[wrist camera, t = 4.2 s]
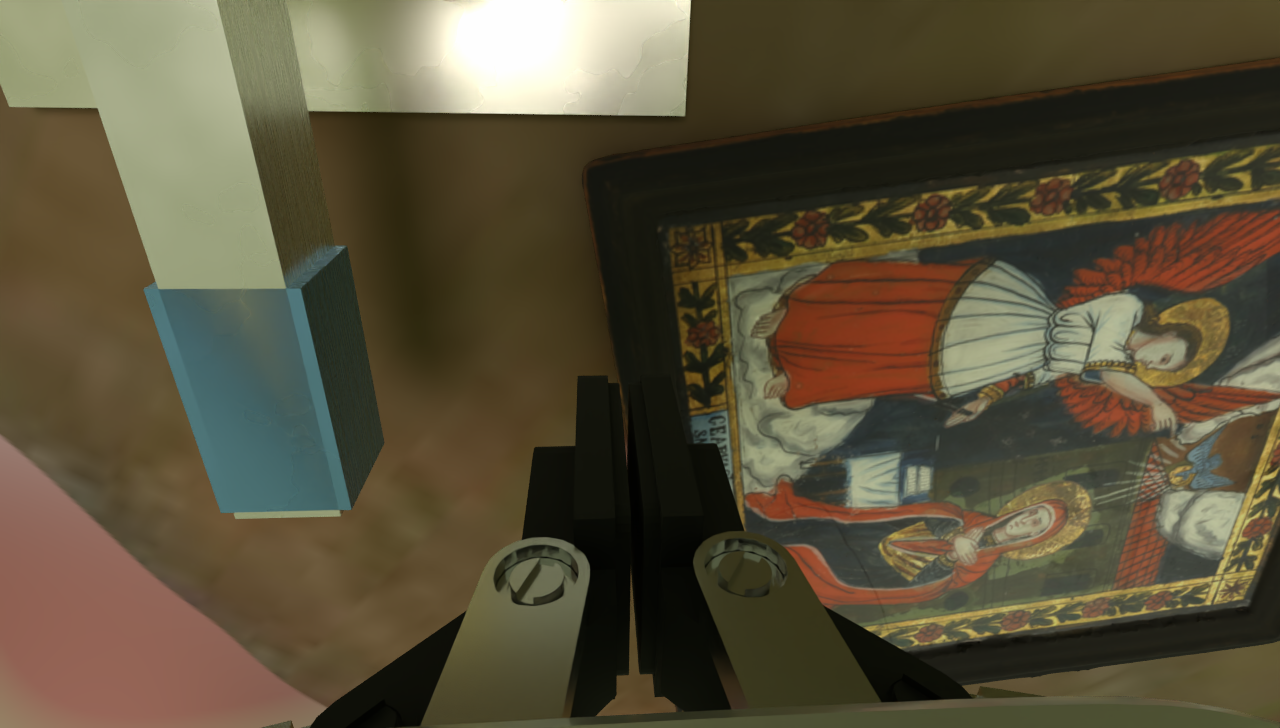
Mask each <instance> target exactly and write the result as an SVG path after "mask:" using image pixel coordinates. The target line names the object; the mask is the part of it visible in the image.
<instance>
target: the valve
mask: <svg viewBox="0 0 1280 728" xmlns="http://www.w3.org/2000/svg"><path fill="white" fill-rule="evenodd" d="M286 2H287V7H288V12H289V17H290V22H291V27H292V32H293V37H294V42H295V47H296V53H297V58H298V63H299V68H300V73H301V78H302V83H303V88H304V93H305V98H306V103H307V108H308V111H350V112H423V113H496V114H568V115H641V116H685V107H686V86H687V66H688V45H689V25H690V5H691V0H286ZM0 84H1V87H2V89H3V92H4V94H5V97H6V99H7V102H8V104H9V107H60V108H97V105H96V102H95V99H94V96H93V93H92V90H91V87H90V84H89V81H88V78H87V75H86V72H85V69H84V66H83V63H82V60H81V57H80V54H79V51H78V48H77V45H76V42H75V39H74V36H73V33H72V30H71V27H70V24H69V21H68V18H67V15H66V12H65V9H64V6H63V4H62V1H61V0H0Z"/></svg>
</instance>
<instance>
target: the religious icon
mask: <svg viewBox="0 0 1280 728" xmlns="http://www.w3.org/2000/svg"><path fill="white" fill-rule="evenodd" d="M582 184H583V189H584V195H585V200H586V205H587V211H588V216H589V222H590V227H591V233H592V239H593V245H594V250H595V255H596V261H597V266H598V271H599V277H600V283H601V288H602V294H603V300H604V305H605V311H606V317H607V323H608V328H609V334H610V340H611V346H612V351H613V357H614V362H615V368H616V373H617V379H618V383H619V384H620V395H621V401H622V407H623V413H624V419H625V424H626V430H627V436H628V385H629V383H639V380H640V375H670V376H671V380H672V384H673V388H674V392H675V396H676V401H677V405H678V409H679V413H680V417H681V421H682V426H683V430H684V434H685V438H686V442H687V444H693V443H716V444H717V446H718V448H719V451H720V454H721V457H722V460H723V464H724V467H725V470H726V473H727V476H728V480H729V483H730V486H731V489H732V492H733V495H734V499H735V502H736V505H737V508H738V511H739V515H740V518H741V521H742V524H743V527H744V530H745V531H746V532H751V533H757V534H760V535H763V536H765V537H768V538H770V539H773V540H775V541H776V542H777V543H779V544H780V545H782V546H783V547H785V548H786V549H787V550H788V552H789V553H790V554H791V555H792V556H793V557H794V559H795V560H796V562H797V564H798V565H799V567H800V568H801V570H802V572H803V573H804V575H805V577H806V578H807V580H808V582H809V583H810V585H811V587H812V588H813V590H814V592H815V593H816V595H817V597H818V598H819V600H820V602H821V603H822V605H824V606H826V607H827V608H829V609H831V610H833V611H835V612H836V613H838V614H840V615H842V616H843V617H845V618H847V619H849V620H850V621H852V622H854V623H856V624H858V625H859V626H861V627H863V628H865V629H866V630H868V631H870V632H872V633H874V634H875V635H877V636H879V637H881V638H882V639H884V640H886V641H888V642H889V643H891V644H893V645H895V646H897V647H898V648H900V649H902V650H904V651H905V652H907V653H909V654H911V655H913V656H914V657H916V658H918V659H920V660H921V661H923V662H925V663H927V664H928V665H930V666H932V667H934V668H936V669H937V670H939V671H941V672H943V673H944V674H946V675H947V676H948V677H950V678H951V679H953V680H954V681H956V682H957V683H958V684H960V685H961V686H963V685H970V684H978V683H986V682H992V681H999V680H1007V679H1015V678H1025V677H1036V676H1042V675H1046V674H1051V673H1059V672H1069V671H1080V670H1090V669H1093V668H1097V667H1103V666H1110V665H1117V664H1125V663H1133V662H1140V661H1147V660H1154V659H1161V658H1168V657H1176V656H1183V655H1191V654H1199V653H1207V652H1213V651H1220V650H1228V649H1235V648H1242V647H1250V646H1257V645H1263V644H1269V643H1274V642H1277V641H1280V58H1274V59H1267V60H1260V61H1253V62H1246V63H1239V64H1232V65H1225V66H1217V67H1210V68H1203V69H1196V70H1188V71H1182V72H1175V73H1168V74H1160V75H1153V76H1147V77H1140V78H1131V79H1125V80H1118V81H1111V82H1104V83H1097V84H1090V85H1083V86H1076V87H1068V88H1061V89H1053V90H1046V91H1040V92H1033V93H1026V94H1018V95H1011V96H1003V97H996V98H989V99H982V100H975V101H970V102H963V103H955V104H949V105H942V106H936V107H929V108H922V109H915V110H907V111H900V112H893V113H886V114H880V115H873V116H867V117H860V118H853V119H846V120H839V121H832V122H826V123H820V124H813V125H806V126H800V127H794V128H788V129H781V130H775V131H768V132H762V133H755V134H749V135H742V136H736V137H730V138H723V139H714V140H708V141H701V142H694V143H687V144H681V145H674V146H667V147H660V148H654V149H647V150H641V151H636V152H632V153H625V154H613V155H610V156H607V157H603V158H599V159H596V160H593V161H591V162H590V163H588V164H587V165H586V166H585V167H584V169H583V173H582ZM675 707H676V712H682V709H680V708H679V707H678V706H676V705H675Z"/></svg>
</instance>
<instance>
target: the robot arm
mask: <svg viewBox="0 0 1280 728" xmlns="http://www.w3.org/2000/svg"><path fill="white" fill-rule="evenodd" d="M630 574H632V587H633V599H634V612H635V625H636V637H637V650H638V663H639V672H640V674H653V684H654V694H655V697H666V698H667V699H669V700H670V701H671V702H672V703H674V704H675V705H676V706H678V707H679V708H680V709H682V712H673V713H653V714H634V715H615V716H596V715H597V714H598V713H599V712H600V711H601V710H602V709H603V708H604V707H605V706H606V705H607V704H608V703H609V702H610V701H611V700H612V699H615V696H616V677H617V675H629V633H630ZM263 728H294V727H293V724H292V721H287V722H283V723H279V724H275V725H271V726H267V727H263ZM303 728H1280V722H1276V721H1272V720H1269V719H1265V718H1261V717H1257V716H1254V715H1250V714H1246V713H1243V712H1239V711H1235V710H1231V709H1226V708H1220V707H1214V706H1208V705H1202V704H1196V703H1190V702H1184V701H1176V700H1164V699H1151V698H1139V697H1127V696H1118V697H1081V696H1053V697H1046V696H1040V695H1034V694H1027V693H1021V692H1014V691H1008V690H1002V689H995V688H989V687H982V686H980V688H979V691H978V694H977V695H974V694H969V693H968V692H967V691H966V690H965V689H964V688H963V687H962V686H961V685H960V684H958V683H957V682H956V681H954V680H953V679H951V678H950V677H948V676H947V675H946V674H944V673H943V672H941V671H939V670H937V669H936V668H934V667H932V666H930V665H928V664H927V663H925V662H923V661H921V660H920V659H918V658H916V657H914V656H913V655H911V654H909V653H907V652H905V651H904V650H902V649H900V648H898V647H897V646H895V645H893V644H891V643H889V642H888V641H886V640H884V639H882V638H881V637H879V636H877V635H875V634H874V633H872V632H870V631H868V630H866V629H865V628H863V627H861V626H859V625H858V624H856V623H854V622H852V621H850V620H849V619H847V618H845V617H843V616H842V615H840V614H838V613H836V612H835V611H833V610H831V609H829V608H827V607H826V606H824V605H822V603H821V602H820V600H819V598H818V597H817V595H816V593H815V592H814V590H813V588H812V587H811V585H810V583H809V582H808V580H807V578H806V577H805V575H804V573H803V572H802V570H801V568H800V567H799V565H798V564H797V562H796V560H795V559H794V557H793V556H792V555H791V554H790V553H789V552H788V550H787V549H786V548H785V547H783V546H782V545H780V544H779V543H777V542H776V541H775V540H773V539H770V538H768V537H765V536H763V535H760V534H757V533H751V532H746V531H745V530H744V527H743V524H742V521H741V518H740V515H739V511H738V508H737V505H736V502H735V499H734V495H733V492H732V489H731V486H730V483H729V480H728V476H727V473H726V470H725V467H724V464H723V460H722V457H721V454H720V451H719V448H718V446H717V444H716V443H693V444H687V442H686V438H685V434H684V430H683V426H682V421H681V417H680V413H679V409H678V405H677V401H676V396H675V392H674V388H673V384H672V380H671V376H670V375H640V380H639V383H629V385H628V447H627V463H626V452H625V440H624V429H623V418H622V406H621V395H620V384H619V383H608V376H578V384H577V415H576V446H558V447H535V448H534V453H533V460H532V467H531V475H530V483H529V490H528V498H527V505H526V513H525V520H524V528H523V535H522V540H521V541H517V542H514V543H512V544H510V545H508V546H506V547H504V548H502V549H501V550H500V551H499V552H497V553H496V554H495V555H494V556H493V557H492V558H491V559H490V560H489V562H488V563H487V565H486V567H485V568H484V570H483V572H482V575H481V577H480V580H479V582H478V585H477V587H476V590H475V592H474V595H473V597H472V600H471V602H470V604H469V607H468V609H467V611H465V612H464V613H463V614H461V615H460V616H458V617H457V618H455V619H454V620H452V621H451V622H450V623H448V624H447V625H445V626H444V627H442V628H441V629H439V630H438V631H437V632H435V633H434V634H432V635H431V636H429V637H428V638H426V639H425V640H424V641H422V642H421V643H419V644H418V645H416V646H415V647H413V648H412V649H411V650H409V651H408V652H406V653H405V654H403V655H402V656H400V657H399V658H397V659H396V660H395V661H393V662H392V663H390V664H389V665H387V666H386V667H384V668H383V669H382V670H380V671H379V672H377V673H376V674H374V675H373V676H371V677H370V678H369V679H367V680H366V681H364V682H363V683H361V684H360V685H358V686H357V687H356V688H354V689H353V690H351V691H350V692H348V693H347V694H345V695H344V696H343V697H341V698H340V699H338V700H337V701H335V702H334V703H333V704H332V705H331V706H329V707H328V708H327V709H326V710H325V711H324V712H323V713H321V714H320V715H319V716H318V717H317V718H316V719H315V721H314V722H313V724H312V725H311V726H307V727H303Z"/></svg>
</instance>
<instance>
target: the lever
mask: <svg viewBox="0 0 1280 728" xmlns="http://www.w3.org/2000/svg"><path fill="white" fill-rule="evenodd" d="M61 1H62V4H63V6H64V9H65V12H66V15H67V18H68V21H69V24H70V27H71V30H72V33H73V36H74V39H75V42H76V45H77V48H78V51H79V54H80V57H81V60H82V63H83V66H84V69H85V72H86V75H87V78H88V81H89V84H90V87H91V90H92V93H93V96H94V99H95V102H96V105H97V108H98V111H99V114H100V117H101V120H102V123H103V126H104V129H105V132H106V135H107V138H108V141H109V143H110V146H111V149H112V152H113V155H114V158H115V161H116V164H117V167H118V170H119V173H120V176H121V179H122V182H123V185H124V188H125V191H126V194H127V197H128V200H129V203H130V206H131V209H132V212H133V215H134V218H135V221H136V224H137V227H138V230H139V233H140V236H141V239H142V242H143V245H144V248H145V251H146V254H147V257H148V260H149V263H150V266H151V269H152V272H153V275H154V278H155V280H156V282H154V283H153V284H151V285H149V286H148V287H146V288H144V292H145V295H146V298H147V301H148V304H149V307H150V309H151V312H152V315H153V318H154V321H155V324H156V327H157V330H158V333H159V335H160V338H161V341H162V344H163V347H164V350H165V353H166V356H167V358H168V361H169V364H170V367H171V370H172V373H173V376H174V379H175V382H176V384H177V387H178V390H179V393H180V396H181V399H182V402H183V405H184V407H185V410H186V413H187V416H188V419H189V422H190V425H191V428H192V431H193V433H194V436H195V439H196V442H197V445H198V448H199V451H200V454H201V456H202V459H203V462H204V465H205V468H206V471H207V474H208V477H209V480H210V482H211V485H212V488H213V491H214V494H215V497H216V500H217V503H218V505H219V508H220V511H221V513H234V516H235V519H246V518H287V517H327V516H341V515H342V513H343V511H344V510H352V508H353V506H354V504H355V502H356V500H357V498H358V496H359V493H360V491H361V489H362V487H363V485H364V483H365V481H366V479H367V477H368V475H369V473H370V471H371V469H372V467H373V465H374V463H375V461H376V459H377V457H378V455H379V453H380V451H381V449H382V447H383V445H384V438H383V433H382V428H381V422H380V417H379V412H378V407H377V401H376V396H375V391H374V386H373V380H372V375H371V370H370V364H369V359H368V354H367V349H366V343H365V338H364V333H363V327H362V322H361V317H360V312H359V306H358V301H357V296H356V291H355V285H354V280H353V275H352V269H351V264H350V259H349V254H348V248H347V246H335V244H334V239H333V234H332V229H331V224H330V219H329V214H328V209H327V204H326V199H325V194H324V189H323V184H322V179H321V174H320V168H319V163H318V158H317V153H316V148H315V143H314V138H313V133H312V128H311V123H310V118H309V113H308V108H307V103H306V98H305V93H304V88H303V83H302V78H301V73H300V68H299V63H298V58H297V53H296V47H295V42H294V37H293V32H292V27H291V22H290V17H289V12H288V7H287V2H286V0H61Z"/></svg>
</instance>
